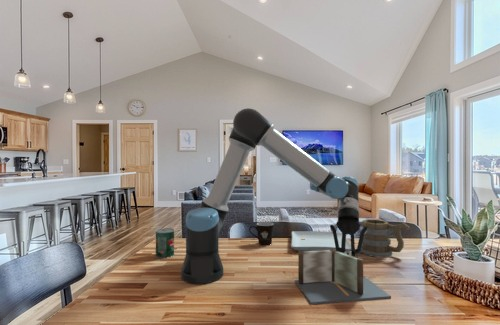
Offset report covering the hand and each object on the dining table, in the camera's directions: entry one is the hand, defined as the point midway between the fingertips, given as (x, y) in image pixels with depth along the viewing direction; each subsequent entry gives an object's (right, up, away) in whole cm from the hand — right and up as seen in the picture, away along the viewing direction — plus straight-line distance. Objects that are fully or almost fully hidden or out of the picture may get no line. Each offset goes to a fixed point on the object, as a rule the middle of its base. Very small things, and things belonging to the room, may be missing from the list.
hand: (347, 272), depth 90 cm
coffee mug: (-26, -5, +48) cm, 55 cm away
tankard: (+27, -5, +31) cm, 41 cm away
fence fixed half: (-10, -4, +2) cm, 11 cm away
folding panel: (-1, -4, -3) cm, 5 cm away
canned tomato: (-70, -5, +30) cm, 76 cm away
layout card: (-3, -5, -3) cm, 6 cm away
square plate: (+2, -5, +45) cm, 45 cm away
